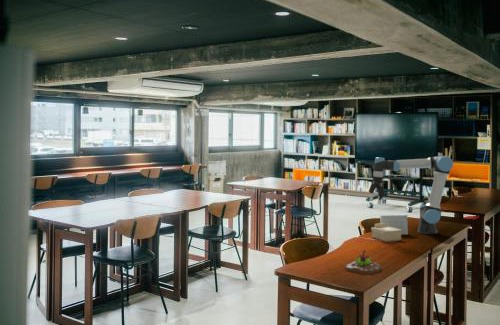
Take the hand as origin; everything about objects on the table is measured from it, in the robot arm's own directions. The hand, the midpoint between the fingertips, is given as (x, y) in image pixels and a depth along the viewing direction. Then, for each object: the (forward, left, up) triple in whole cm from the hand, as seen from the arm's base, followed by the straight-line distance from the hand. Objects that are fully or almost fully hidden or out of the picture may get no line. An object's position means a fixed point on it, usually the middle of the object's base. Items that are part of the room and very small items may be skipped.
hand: (375, 202), depth 369 cm
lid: (0, +15, -21) cm, 26 cm away
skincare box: (-16, +2, -27) cm, 32 cm away
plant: (+60, +82, -28) cm, 105 cm away
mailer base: (0, +15, -27) cm, 31 cm away
